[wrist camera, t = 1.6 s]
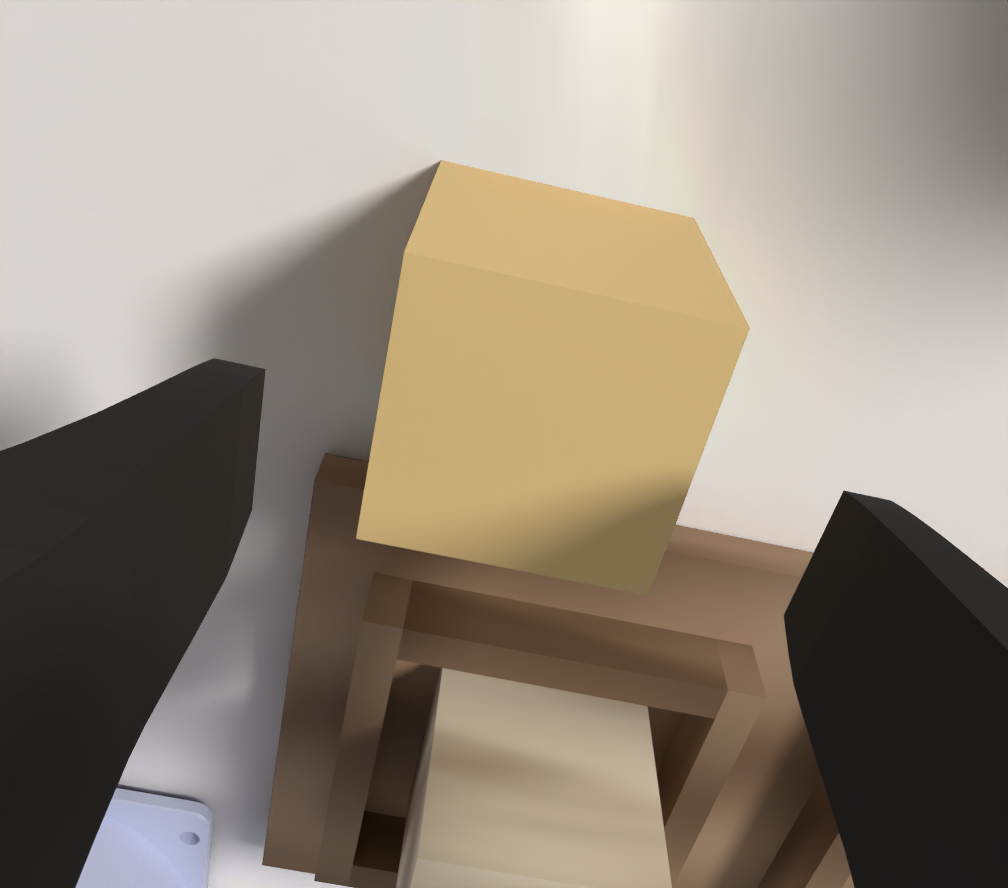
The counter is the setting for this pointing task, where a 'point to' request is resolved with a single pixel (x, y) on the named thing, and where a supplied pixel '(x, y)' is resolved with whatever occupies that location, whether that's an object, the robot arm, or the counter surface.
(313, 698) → the puzzle board
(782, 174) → the counter surface
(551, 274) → the ochre block
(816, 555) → the robot arm
